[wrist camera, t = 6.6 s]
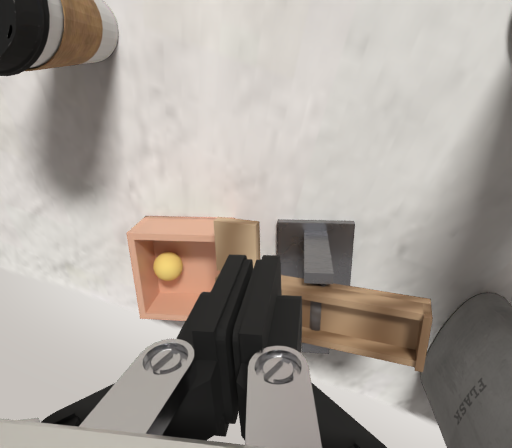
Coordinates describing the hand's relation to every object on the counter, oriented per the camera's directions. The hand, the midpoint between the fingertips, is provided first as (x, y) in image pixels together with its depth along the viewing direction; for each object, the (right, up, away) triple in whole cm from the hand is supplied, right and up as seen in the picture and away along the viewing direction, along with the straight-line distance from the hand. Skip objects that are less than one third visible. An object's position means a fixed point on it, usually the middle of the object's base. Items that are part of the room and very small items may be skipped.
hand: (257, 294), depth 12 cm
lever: (+5, -3, +21) cm, 22 cm away
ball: (-10, -2, +29) cm, 31 cm away
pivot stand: (+6, -2, +29) cm, 30 cm away
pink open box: (-7, -2, +31) cm, 32 cm away
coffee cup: (-16, +21, +23) cm, 35 cm away
